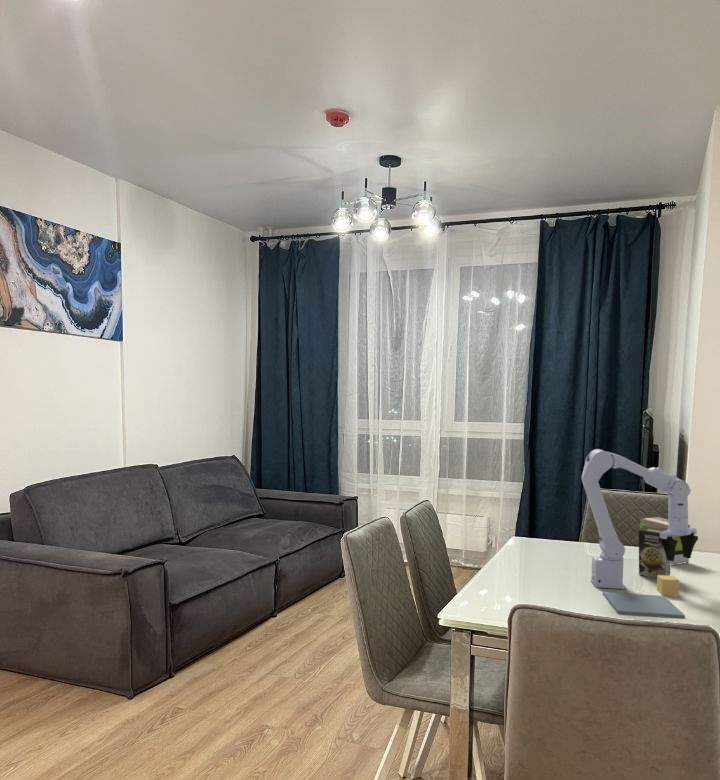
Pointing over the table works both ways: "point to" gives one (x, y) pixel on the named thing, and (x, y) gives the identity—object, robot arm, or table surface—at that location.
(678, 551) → the tea box
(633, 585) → the table surface
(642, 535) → the coffee box
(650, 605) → the slate mat
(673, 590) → the mustard cube
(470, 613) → the table surface
